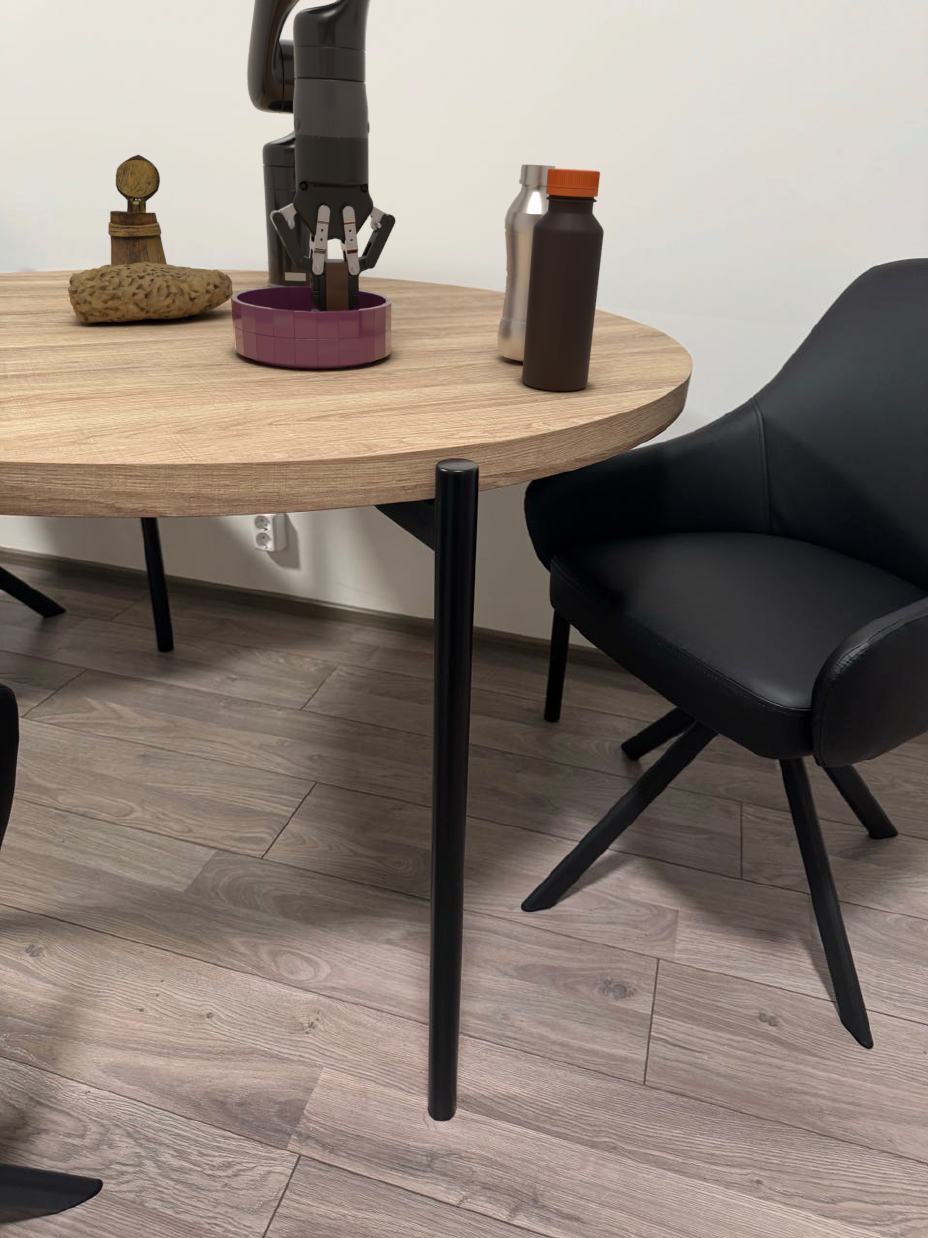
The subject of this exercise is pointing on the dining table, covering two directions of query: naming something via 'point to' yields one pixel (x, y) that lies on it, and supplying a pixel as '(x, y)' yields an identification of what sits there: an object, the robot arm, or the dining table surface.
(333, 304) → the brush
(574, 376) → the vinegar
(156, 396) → the dining table surface
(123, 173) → the brown wooden stand
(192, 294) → the sponge
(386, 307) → the bowl
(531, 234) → the silver metal bottle
